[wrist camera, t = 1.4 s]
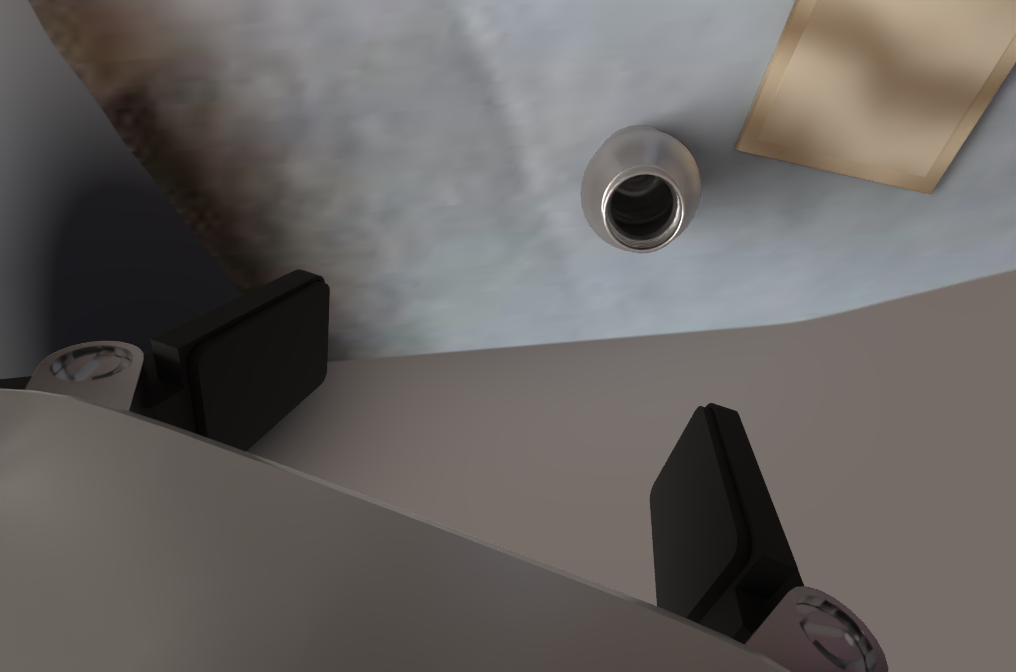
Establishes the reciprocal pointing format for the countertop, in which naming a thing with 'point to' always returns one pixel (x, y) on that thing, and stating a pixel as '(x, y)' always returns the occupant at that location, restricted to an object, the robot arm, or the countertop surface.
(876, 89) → the oak board
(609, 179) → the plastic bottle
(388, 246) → the countertop surface
